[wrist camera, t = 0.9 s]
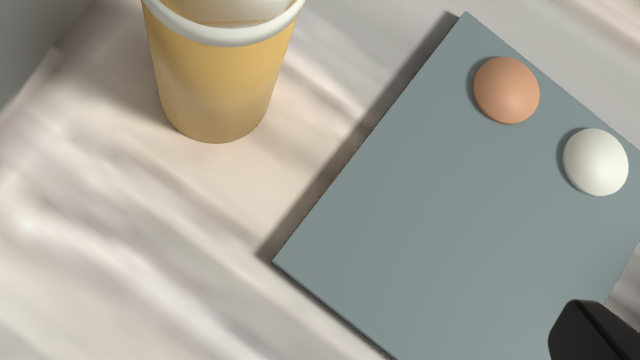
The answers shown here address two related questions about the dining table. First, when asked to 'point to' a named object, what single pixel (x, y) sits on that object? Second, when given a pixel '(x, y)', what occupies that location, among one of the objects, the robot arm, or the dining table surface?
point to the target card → (472, 211)
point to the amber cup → (218, 61)
